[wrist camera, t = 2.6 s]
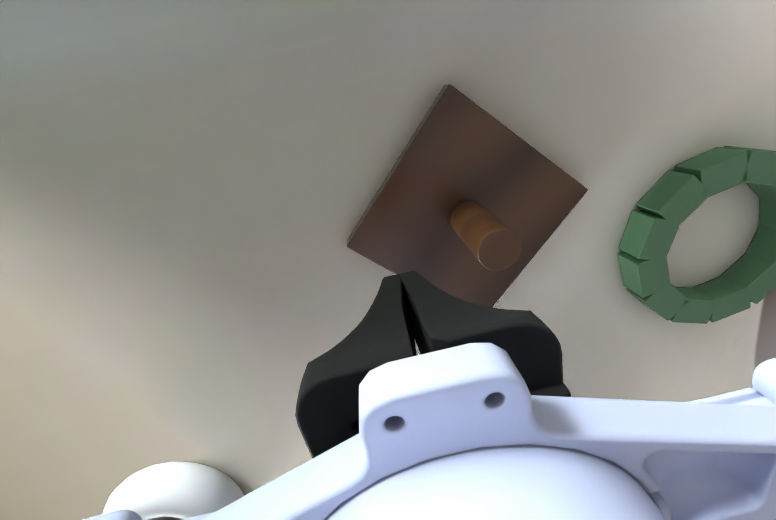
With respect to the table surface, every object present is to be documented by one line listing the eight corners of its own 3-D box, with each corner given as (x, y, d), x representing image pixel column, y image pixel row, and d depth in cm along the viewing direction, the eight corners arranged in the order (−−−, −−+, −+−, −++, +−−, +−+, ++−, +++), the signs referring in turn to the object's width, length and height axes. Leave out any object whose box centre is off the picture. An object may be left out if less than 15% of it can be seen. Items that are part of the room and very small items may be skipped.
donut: (245, 445, 27) (102, 454, 26) (232, 490, 24) (68, 502, 23) (258, 529, 31) (134, 540, 30) (248, 577, 28) (109, 591, 27)
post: (578, 186, 21) (656, 213, 16) (476, 313, 24) (512, 373, 19) (444, 84, 19) (482, 75, 13) (346, 241, 21) (343, 287, 16)
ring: (763, 102, 20) (799, 102, 19) (806, 244, 24) (839, 253, 23) (588, 226, 22) (607, 236, 21) (655, 338, 26) (675, 353, 25)
